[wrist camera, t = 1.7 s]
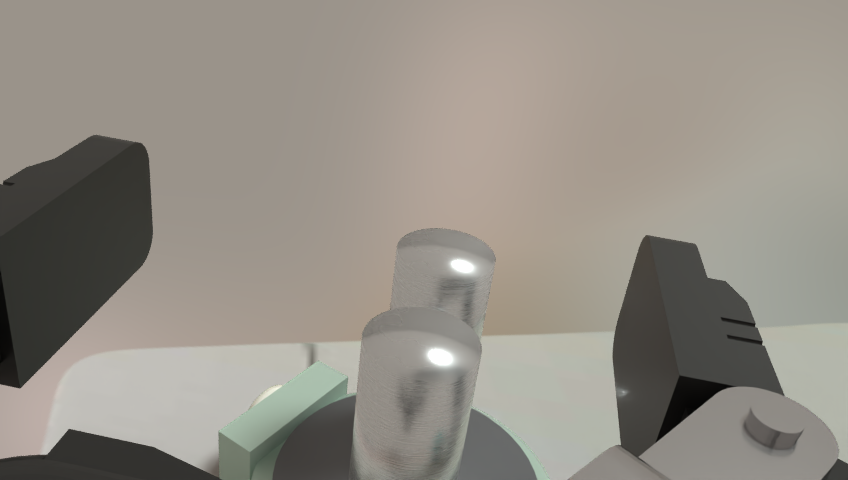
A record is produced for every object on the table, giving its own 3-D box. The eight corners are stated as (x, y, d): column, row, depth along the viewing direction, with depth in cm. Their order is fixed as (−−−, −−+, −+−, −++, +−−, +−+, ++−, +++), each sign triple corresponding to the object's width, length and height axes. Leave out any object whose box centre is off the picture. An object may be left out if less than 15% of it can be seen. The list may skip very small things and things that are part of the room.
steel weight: (463, 531, 32) (503, 339, 27) (407, 601, 29) (440, 398, 24) (383, 481, 34) (407, 293, 29) (322, 542, 31) (336, 343, 26)
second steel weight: (478, 426, 38) (512, 252, 33) (431, 475, 35) (462, 291, 30) (409, 389, 40) (432, 219, 35) (359, 432, 36) (376, 252, 32)
